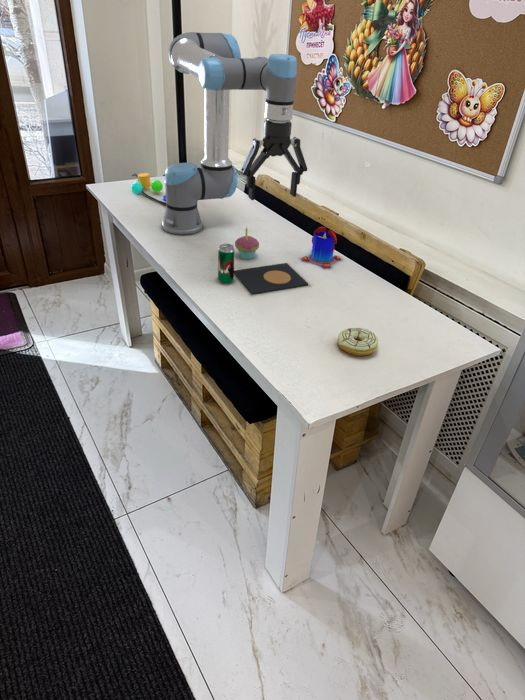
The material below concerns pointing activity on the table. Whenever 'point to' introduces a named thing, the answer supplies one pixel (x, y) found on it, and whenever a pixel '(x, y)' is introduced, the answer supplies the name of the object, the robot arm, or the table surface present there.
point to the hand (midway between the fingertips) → (272, 197)
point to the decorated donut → (357, 341)
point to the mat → (270, 278)
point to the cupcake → (247, 246)
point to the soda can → (226, 263)
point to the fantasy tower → (323, 248)
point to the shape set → (146, 184)
